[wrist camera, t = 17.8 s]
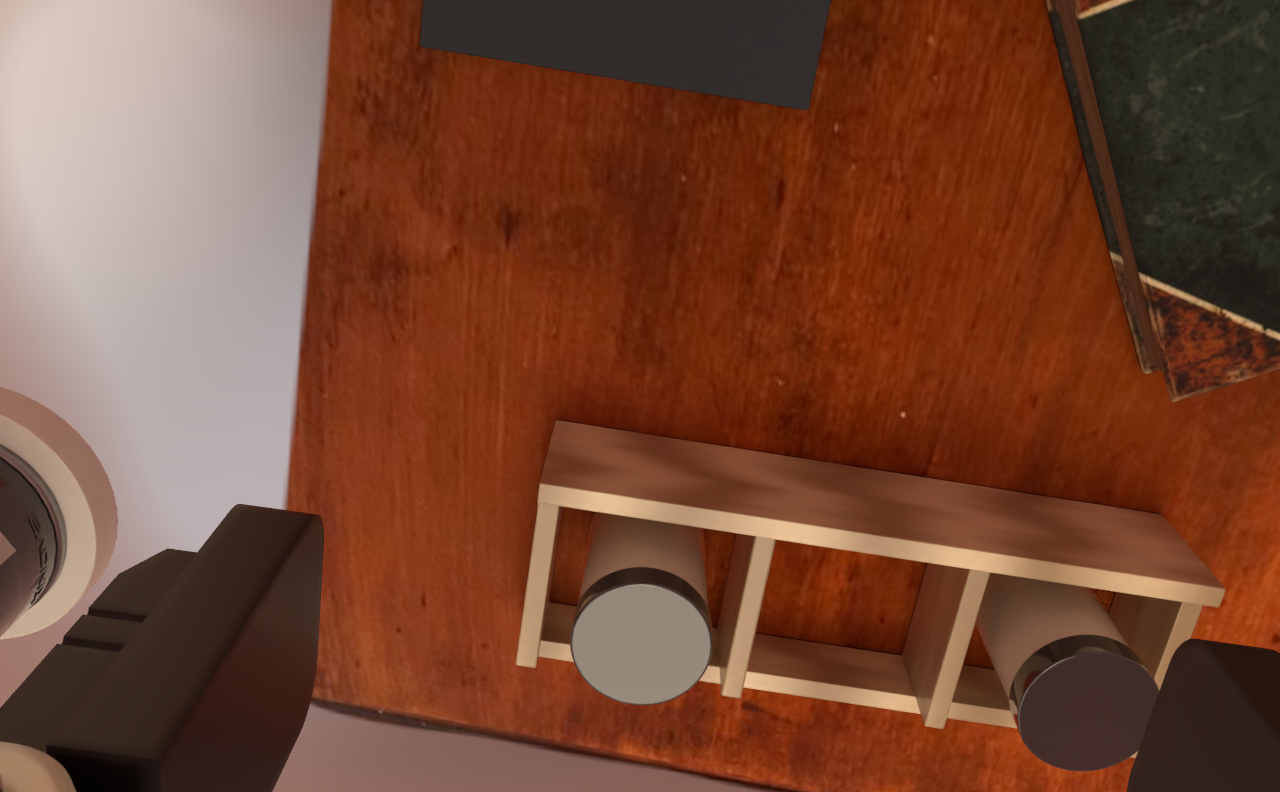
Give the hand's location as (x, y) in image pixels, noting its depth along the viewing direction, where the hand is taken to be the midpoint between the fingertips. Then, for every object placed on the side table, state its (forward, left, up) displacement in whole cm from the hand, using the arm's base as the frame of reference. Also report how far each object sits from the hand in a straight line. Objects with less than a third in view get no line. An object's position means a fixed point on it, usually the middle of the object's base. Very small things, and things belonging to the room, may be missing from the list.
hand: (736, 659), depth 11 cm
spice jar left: (+1, -17, -34) cm, 38 cm away
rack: (+9, -17, -34) cm, 39 cm away
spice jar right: (+17, -17, -34) cm, 42 cm away
